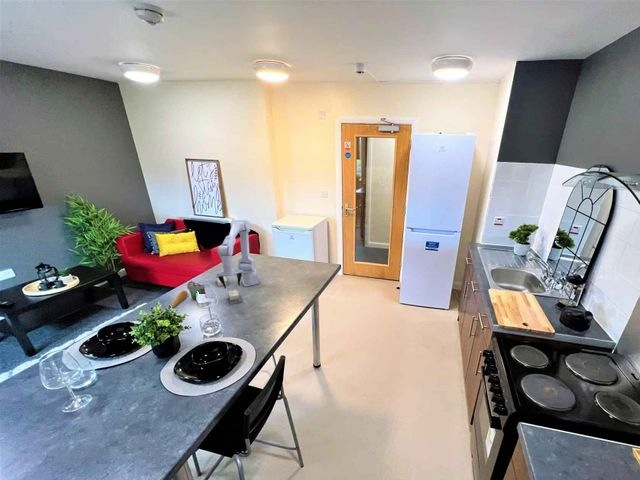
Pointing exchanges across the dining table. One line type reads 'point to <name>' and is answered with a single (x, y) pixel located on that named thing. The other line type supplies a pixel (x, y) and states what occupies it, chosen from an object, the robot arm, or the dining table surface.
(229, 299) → the grey stack
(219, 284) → the cream stack
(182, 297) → the carrot
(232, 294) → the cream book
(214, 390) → the dining table surface
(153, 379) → the dining table surface
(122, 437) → the dining table surface
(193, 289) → the food container
